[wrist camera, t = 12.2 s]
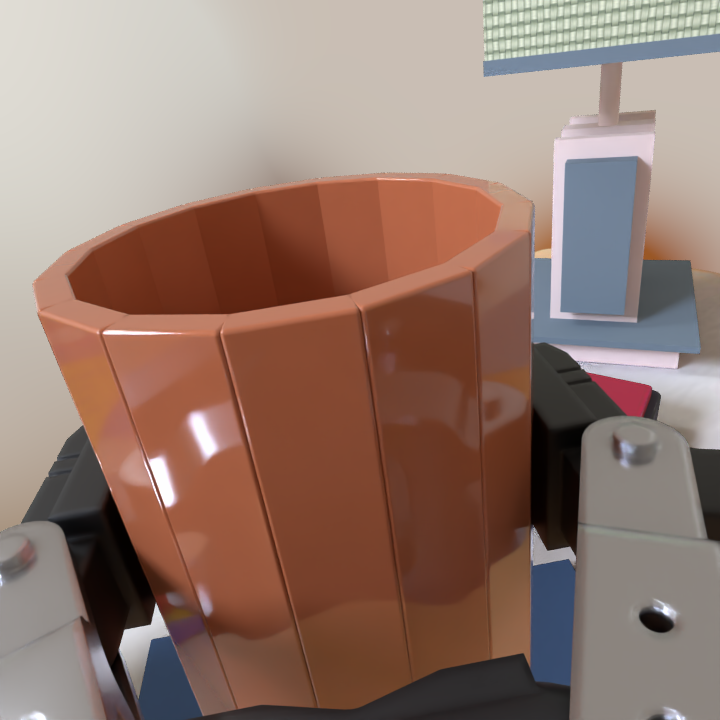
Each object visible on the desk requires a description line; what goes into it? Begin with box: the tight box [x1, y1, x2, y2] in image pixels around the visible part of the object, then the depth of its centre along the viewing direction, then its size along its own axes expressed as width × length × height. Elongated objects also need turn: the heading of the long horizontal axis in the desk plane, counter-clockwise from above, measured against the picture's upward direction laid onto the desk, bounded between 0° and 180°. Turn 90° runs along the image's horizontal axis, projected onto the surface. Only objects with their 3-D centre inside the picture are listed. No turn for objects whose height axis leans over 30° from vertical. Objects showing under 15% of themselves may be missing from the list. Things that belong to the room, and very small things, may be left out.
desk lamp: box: [483, 0, 720, 369], centre depth 43 cm, size 18×14×33 cm
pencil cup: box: [32, 173, 535, 716], centre depth 10 cm, size 6×6×10 cm
